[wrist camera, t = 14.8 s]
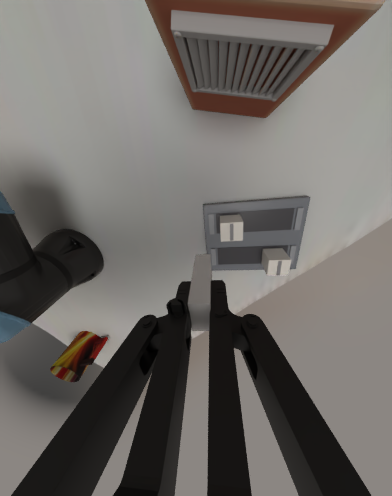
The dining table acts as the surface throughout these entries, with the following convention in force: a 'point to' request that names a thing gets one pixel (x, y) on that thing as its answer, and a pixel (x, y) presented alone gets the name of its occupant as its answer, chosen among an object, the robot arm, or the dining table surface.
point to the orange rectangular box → (252, 46)
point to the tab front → (231, 228)
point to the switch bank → (256, 231)
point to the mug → (78, 356)
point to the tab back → (275, 262)
